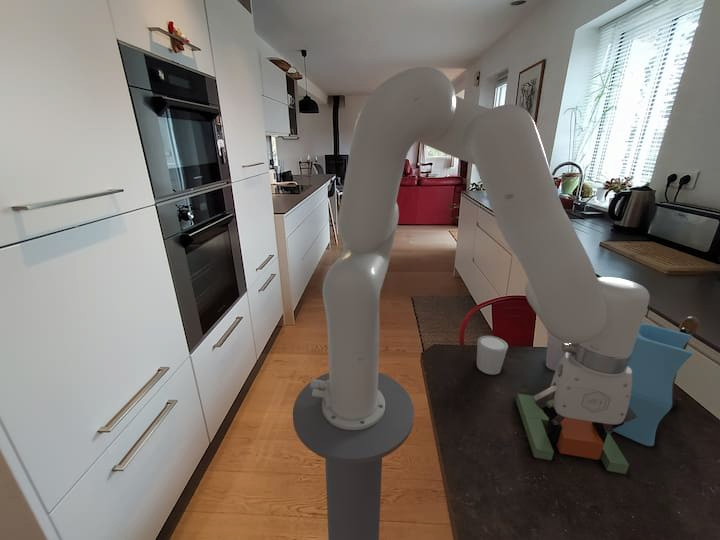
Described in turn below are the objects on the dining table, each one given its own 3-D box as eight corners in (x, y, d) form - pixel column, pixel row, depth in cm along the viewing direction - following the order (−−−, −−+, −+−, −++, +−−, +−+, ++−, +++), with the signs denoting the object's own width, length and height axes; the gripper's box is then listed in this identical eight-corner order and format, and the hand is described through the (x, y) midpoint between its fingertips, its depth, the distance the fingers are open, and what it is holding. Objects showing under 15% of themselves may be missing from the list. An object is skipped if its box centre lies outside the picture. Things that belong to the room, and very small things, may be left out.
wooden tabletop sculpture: (667, 413, 66) (703, 326, 59) (639, 399, 70) (670, 316, 63) (678, 402, 69) (713, 319, 62) (651, 389, 73) (681, 309, 66)
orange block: (559, 453, 56) (564, 437, 54) (548, 426, 61) (552, 411, 60) (599, 460, 54) (604, 444, 53) (584, 431, 60) (588, 417, 59)
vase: (653, 449, 58) (693, 354, 51) (600, 425, 63) (630, 336, 56) (655, 423, 63) (691, 334, 57) (606, 404, 68) (634, 320, 62)
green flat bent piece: (533, 457, 56) (536, 448, 56) (515, 401, 69) (517, 393, 68) (626, 474, 53) (629, 465, 53) (589, 412, 66) (591, 404, 66)
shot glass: (504, 378, 76) (509, 353, 74) (473, 372, 78) (477, 347, 76) (502, 362, 82) (507, 338, 80) (474, 356, 84) (477, 333, 82)
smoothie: (541, 371, 79) (553, 319, 74) (538, 356, 84) (549, 308, 80) (571, 377, 77) (586, 325, 72) (566, 362, 82) (579, 312, 77)
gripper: (546, 360, 50) (526, 449, 56) (678, 377, 46) (641, 469, 52) (533, 335, 57) (516, 416, 63) (647, 348, 53) (617, 432, 59)
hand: (573, 439), depth 58 cm, fingers closed on orange block, 5 cm apart
